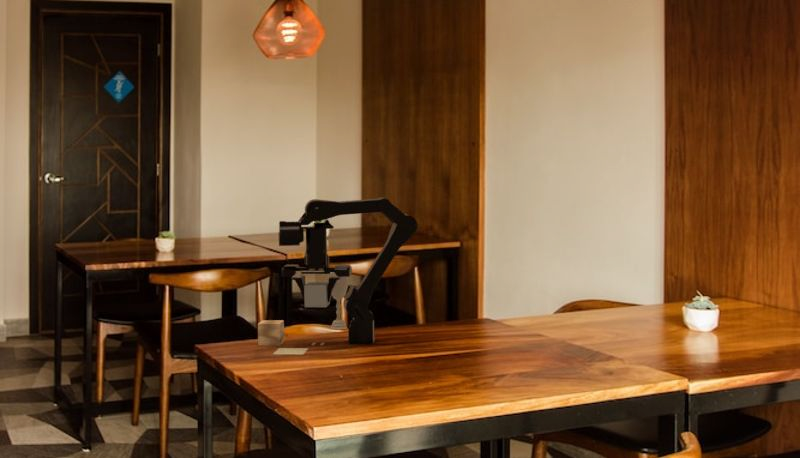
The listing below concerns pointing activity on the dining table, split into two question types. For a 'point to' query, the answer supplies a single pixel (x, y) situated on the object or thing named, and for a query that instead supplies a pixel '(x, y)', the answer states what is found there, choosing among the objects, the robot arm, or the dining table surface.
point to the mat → (290, 351)
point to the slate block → (316, 294)
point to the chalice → (338, 294)
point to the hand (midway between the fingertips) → (317, 301)
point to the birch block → (270, 332)
